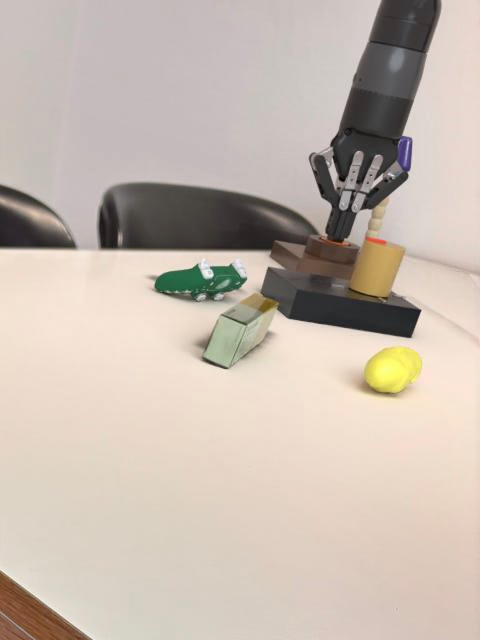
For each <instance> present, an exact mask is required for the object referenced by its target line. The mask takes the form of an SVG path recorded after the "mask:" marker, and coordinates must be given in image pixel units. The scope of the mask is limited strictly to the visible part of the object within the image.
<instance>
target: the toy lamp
mask: <svg viewBox="0 0 480 640" xmlns="http://www.w3.org/2000/svg"><path fill="white" fill-rule="evenodd" d="M413 141H414V140H413V138H412V137H411V136H407V135H402V137H401V139H400V141H399V144H398V151H399V155H398V158H397V161H398V163H399V165H400V166H401V168H402V169H403V170H404V171H406V172H407V173H409V172H411V168H412V158H413V144H414V142H413ZM386 171H387V170H386ZM386 171H385V172H386ZM385 172H384V173H385ZM384 173H383V174H382V179H383V178H384ZM382 179H381V180H382ZM389 201H390V195H389V196H388V197H387V198H385V199H384V200H383V201H382V202H381V203H380V204H378V205H377V206H376V207H375V208H374V209H372V210H371V212H370V214H371V216H370V218H369V220H368V222H367V229H366V231H365V233H364V239H366V237H370V238H375V239H379V230H380V229H381V228H382V225H383V218H384V217H385V215H386V209H387V208H386V207H387V205H388V204H389ZM362 245H363V243H362V244H361V246H362ZM359 254H360V251H359ZM359 254H358V255H359Z"/></svg>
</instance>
